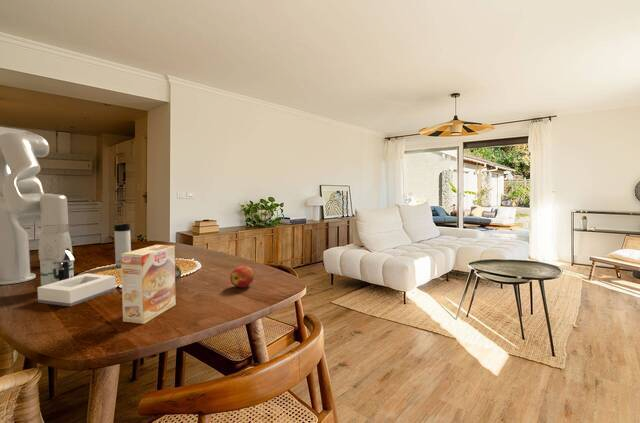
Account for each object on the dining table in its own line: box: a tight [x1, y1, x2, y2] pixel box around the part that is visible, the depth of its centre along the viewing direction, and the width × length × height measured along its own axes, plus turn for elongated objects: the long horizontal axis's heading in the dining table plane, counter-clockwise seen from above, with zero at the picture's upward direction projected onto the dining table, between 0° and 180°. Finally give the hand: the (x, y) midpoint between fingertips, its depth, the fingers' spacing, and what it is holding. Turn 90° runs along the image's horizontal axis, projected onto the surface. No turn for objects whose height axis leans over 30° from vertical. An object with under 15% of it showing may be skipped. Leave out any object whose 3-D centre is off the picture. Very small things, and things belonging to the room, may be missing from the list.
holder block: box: [36, 272, 117, 307], centre depth 111 cm, size 13×17×5 cm
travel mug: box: [113, 223, 132, 268], centre depth 150 cm, size 6×7×20 cm
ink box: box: [39, 259, 75, 286], centre depth 116 cm, size 9×5×12 cm, turn 168°
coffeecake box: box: [120, 244, 177, 325], centre depth 97 cm, size 15×7×20 cm, turn 170°
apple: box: [229, 265, 255, 289], centre depth 123 cm, size 8×8×8 cm
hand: (57, 278), depth 116 cm, fingers closed on ink box, 5 cm apart
